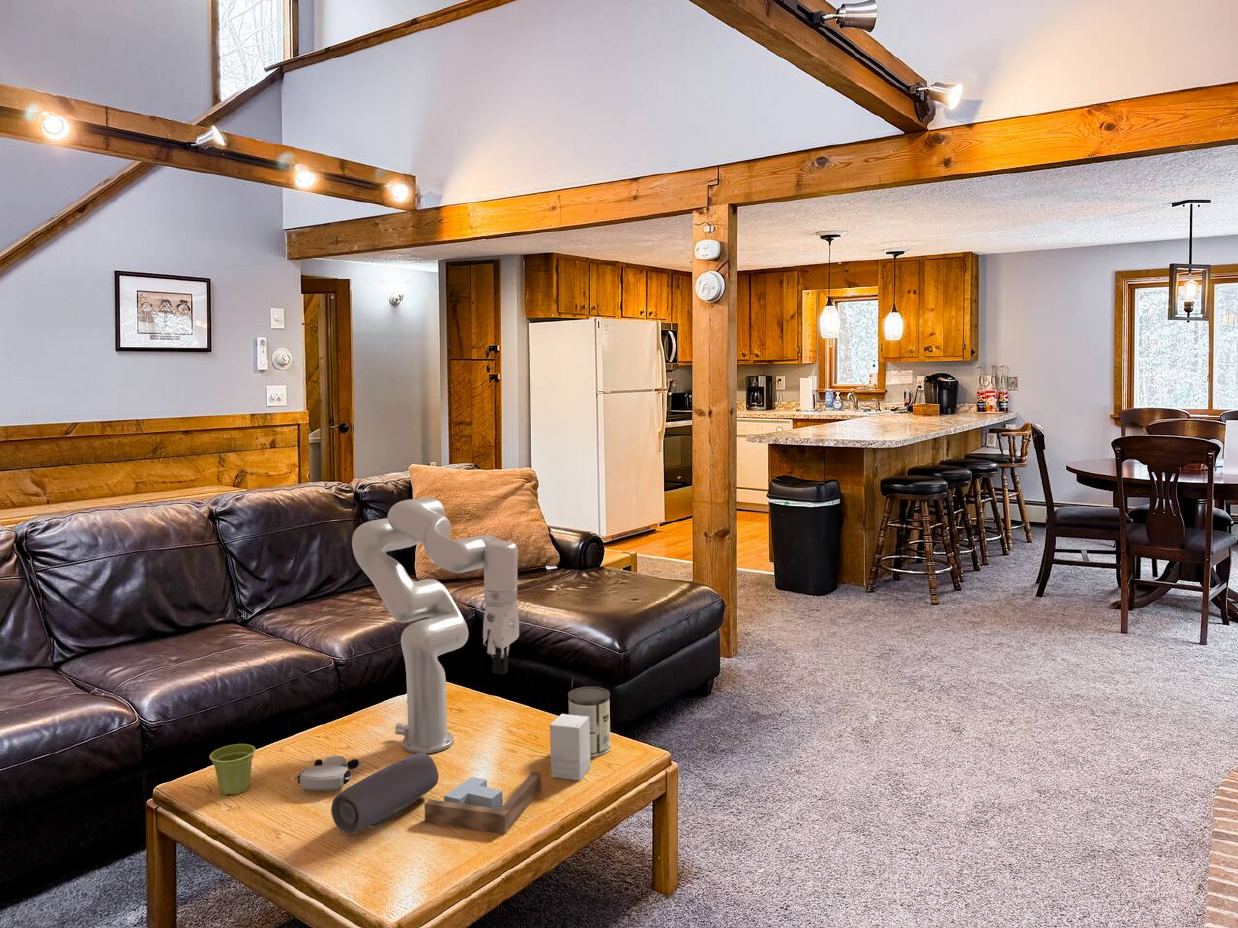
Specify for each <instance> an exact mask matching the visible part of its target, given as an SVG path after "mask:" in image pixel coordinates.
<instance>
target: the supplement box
mask: <svg viewBox="0 0 1238 928" xmlns="http://www.w3.org/2000/svg"><path fill="white" fill-rule="evenodd" d="M549 732H550V733H549V734H550V737H549V738H550V744H549V745H550V766H551V767H550V768H551V769H550V770H551V771H550V773H551V775H550V776H551V778H557V779H565V780H572V781H577V782H580V781H581V780H582V779H583V778H584V777H585V776H586V775H587V773H588V772H589V771H590V770H591V757H590V722H589V717H586V716H577V715H569V713H568V714H565V713H561V714H560V715H559V716H558V717H556V719H554V720H553V721H552V722H551V723H550V724H549Z"/></svg>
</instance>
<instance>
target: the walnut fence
mask: <svg viewBox="0 0 1238 928" xmlns="http://www.w3.org/2000/svg"><path fill="white" fill-rule="evenodd" d="M541 791H542V772H538V771H532V772H530V774H529V775H528V776H527V777H526V779H524V781H523V782H522V783H521V784H520V785H519V787H518V788H516V790H515V791H514V792H513V793H512V794H511V796H510V797H509V798H508V799H507V800H506V801H505V803H503V806H502V807H501V808H500V809H496V808H489V807H482V806H474V805H467V804H460V803H453V802H445V801H444V800H438V799H428V800H426V802H425V803H424V823H428V824H429V823H430V824H436V825H442V826H451V827H456V828H463V829H470V830H475V831H476V830H477V831H484V832H491V833H498V834H507V833H508V831H509V830H510V829H511V828H512V827H513V825H514V824H515V823H516V822H517V820H518V819H519V818H520V817H521V815H522V814H523V813H524V812H525V810H526V809H527V808H528V807H529V806H530V805H531V804H532V802H533V800H534V799H535V798H536V797H537V796H538V794H540V792H541Z"/></svg>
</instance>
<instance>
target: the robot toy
mask: <svg viewBox="0 0 1238 928" xmlns="http://www.w3.org/2000/svg"><path fill="white" fill-rule="evenodd" d="M361 764H363V760H362V759H358V758H357V759H356V758H353V759H351V760H348V761H347V759H346V757H345V756H337V755H336V756H335V755H333V756H328V757H326V758H325V759H324V760H323V759H320V758H318V759H315V760H314V762H313V765H314V766H313V765H312V766H310V767H309V766H308V767H306V768H305V769H304V770H302V772H300V773H299V774H298V775H297V776H295V777H291V781H294V780H297V784H299V787H301V788H302V789H304V790H309V791H314V792H315V791H326V790H330V791H337V790H340V789H341V788H343V787H344V786H345V785H346V784H348V782H349V781H350V780H351V779H353V775H352V772H351V771H350V770H355V769H357V768H359V765H361Z"/></svg>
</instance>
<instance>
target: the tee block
mask: <svg viewBox="0 0 1238 928" xmlns="http://www.w3.org/2000/svg"><path fill="white" fill-rule="evenodd" d="M443 801H445V802H453V803H460V804H467V805H474V806H482V807H489V808H496V809H500V808H501V807H502V806H503V805H504V803H503V790H502V789H501V790H500V789H496V788H492V787H488V779H483V778H479V777H475V776H471V777H468V778H467V780H465V781H464V782H462V783H461V784H459V785H458V786H455V788H453V789H451V790H450V791H449V792H447V793H446V794H444V795H443Z"/></svg>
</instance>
